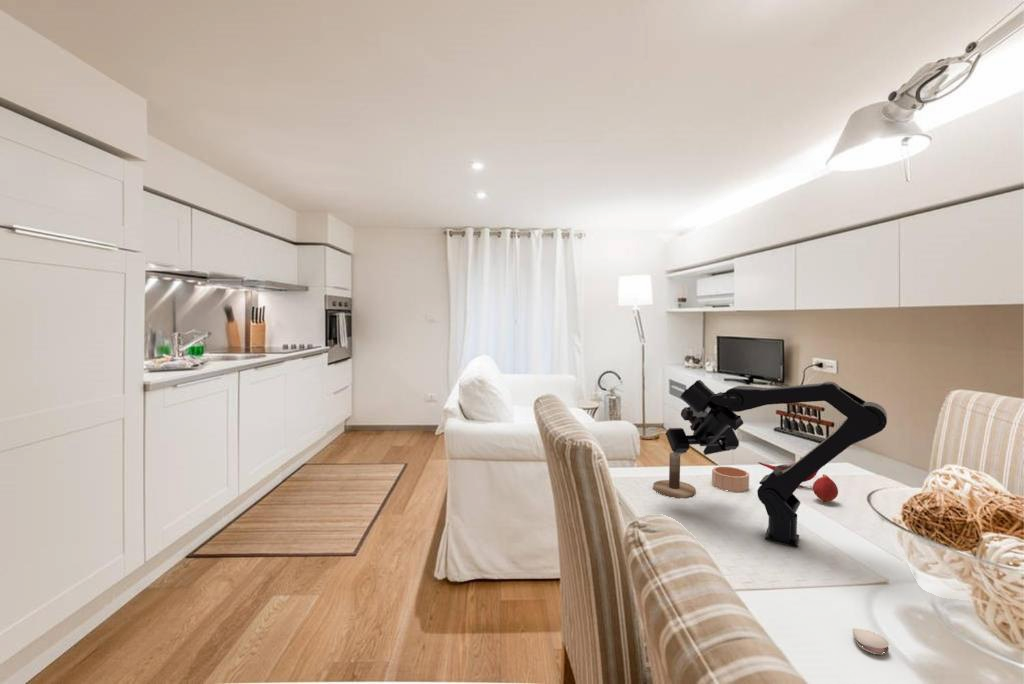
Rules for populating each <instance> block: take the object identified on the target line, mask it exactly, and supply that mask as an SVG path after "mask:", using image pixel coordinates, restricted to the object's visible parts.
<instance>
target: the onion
mask: <svg viewBox="0 0 1024 684" xmlns="http://www.w3.org/2000/svg"><path fill="white" fill-rule="evenodd" d="M838 488H839V487H838V486H837V484H836V482H834V480H833V479H831V478H830V477H829V476H828V475H827V474H826V473H825V474H822V477H819V478H817V479H816V480H815V481H814V482H813V484H812V491H813V493H814V495H815V496H816V497H817V498H818V499H819V500H820V501H821V502H822V503H824V502H827V503H828V502H831V501H834V500H835V499H836V498H837V497H838V495H839V489H838Z"/></svg>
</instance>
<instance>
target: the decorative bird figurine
mask: <svg viewBox="0 0 1024 684" xmlns="http://www.w3.org/2000/svg"><path fill="white" fill-rule="evenodd" d="M795 463H796V462H790V463H783V464H779V465H771V464H768V463H763V462H757V464H759V465H761V466H763V467H766V468H768V469H770V470H771V471H774V469H775V468H776V467H779V469H780V470H781V471H783V470H785V469H788V468H790V467H791V466H792V465H794V464H795ZM823 467H825V465H824V466H823ZM820 470H821V468H820V469H819V470H818V471H816V472H815V473H814V474H813V475H811V476H810V477H809V478H807V479H806V480H805V481H803V482H802V483H805V482H808V481H810V480H813V479H814V478H815V477H816V476H817V473H818V472H819V471H820ZM799 487H802V488H807V486H804V485H802V484H800V485H799V486H798V487H797V488H799Z"/></svg>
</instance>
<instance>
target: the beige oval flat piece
mask: <svg viewBox="0 0 1024 684" xmlns="http://www.w3.org/2000/svg"><path fill="white" fill-rule="evenodd" d="M852 635H853V637H854V641H855V643H857V645H858V646H859V647H860V649H862V650H864V651H866V652H868V653H869V652H870V654H872V653H873V655H875V654H881V655H880V656H882V655H884V654H886V653H888V652H889V645H890V644H889V642H888V639H886V638H885V637H884V636H883V635H881V634H879V633H876V632H875V631H871V630H868V629H863V628H855V627H854V628H852ZM862 646H863V647H862ZM883 652H885V653H883ZM882 653H883V654H882Z"/></svg>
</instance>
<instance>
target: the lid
mask: <svg viewBox="0 0 1024 684" xmlns="http://www.w3.org/2000/svg"><path fill="white" fill-rule="evenodd" d="M668 468H669V472H668V473H669V474H668V479H664V480H663V479H662V480H657V481H655V482H654V483H653V486H652V488H653V489H652V490H653V491H654V490H655V491H656V492H655V491H654V492H655V493H657V492H658V493H660V494H662V495H661V496H663V495H665V496H664V497H666V496H669V497H668V498H671V497H675V498H674V499H680V498H684V499H690V498H689V497H691V498H693V496H694V495H695V494H697V490H696V488H695V486H693V485H691V484H690V483H687V482H684V481H681V455H679V456H674V454H673V452H670V453H669V467H668ZM658 493H657V494H658ZM660 494H659V495H660ZM695 496H696V495H695ZM695 496H694V497H695Z"/></svg>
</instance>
